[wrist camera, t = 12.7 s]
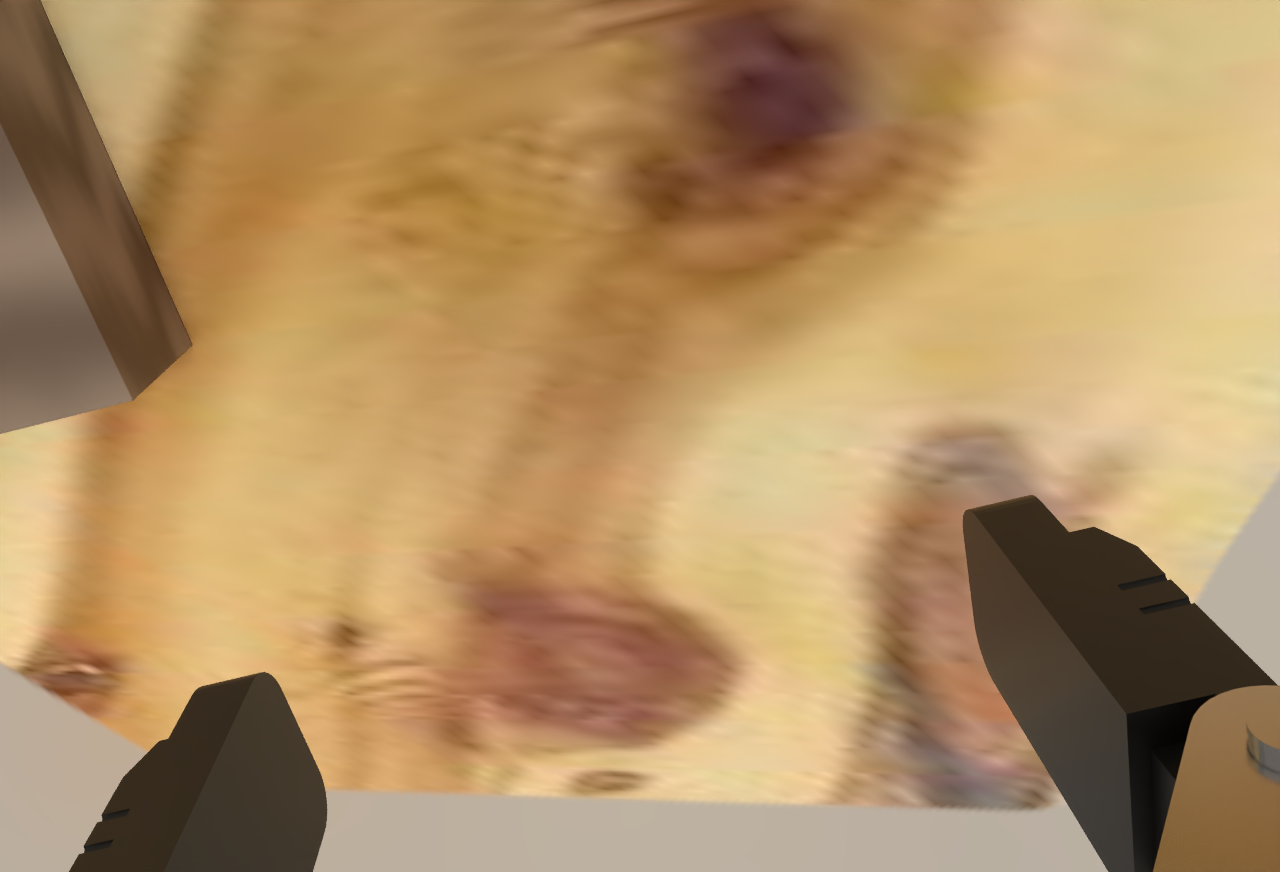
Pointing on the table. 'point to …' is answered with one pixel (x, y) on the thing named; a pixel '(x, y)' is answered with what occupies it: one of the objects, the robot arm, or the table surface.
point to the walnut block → (68, 247)
